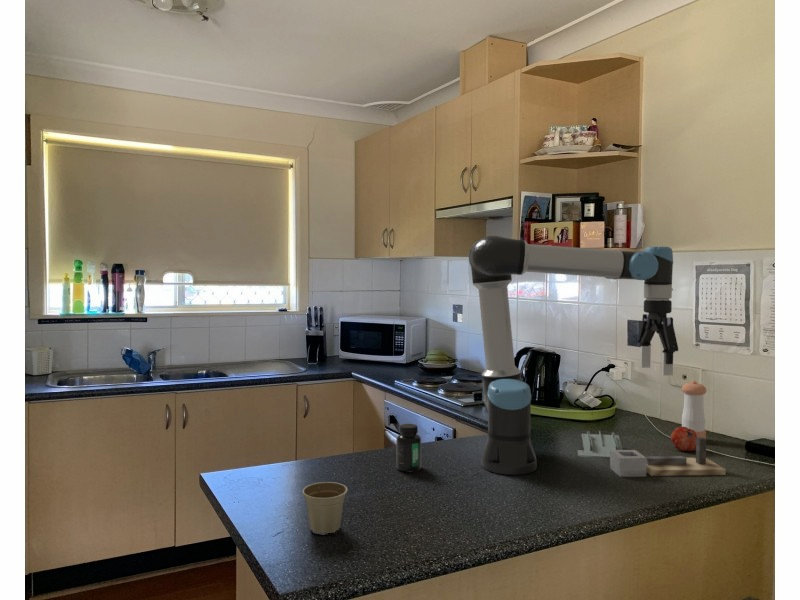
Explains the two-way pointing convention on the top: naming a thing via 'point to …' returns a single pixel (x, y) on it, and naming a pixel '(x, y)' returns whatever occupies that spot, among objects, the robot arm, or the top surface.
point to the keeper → (684, 463)
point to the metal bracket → (599, 445)
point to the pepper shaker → (694, 408)
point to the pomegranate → (684, 439)
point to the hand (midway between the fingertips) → (655, 371)
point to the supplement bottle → (408, 448)
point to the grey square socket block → (628, 463)
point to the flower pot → (325, 505)
